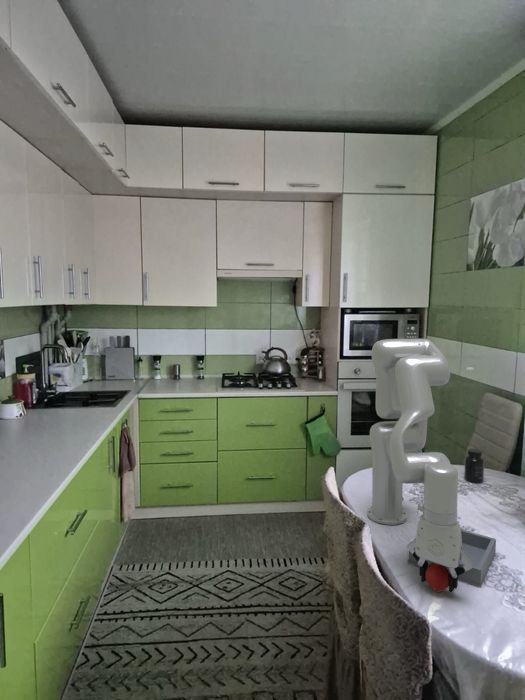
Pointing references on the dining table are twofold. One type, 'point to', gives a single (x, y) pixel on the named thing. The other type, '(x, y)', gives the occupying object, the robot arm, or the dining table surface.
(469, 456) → the supplement bottle
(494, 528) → the dining table surface
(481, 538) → the tray
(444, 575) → the onion
